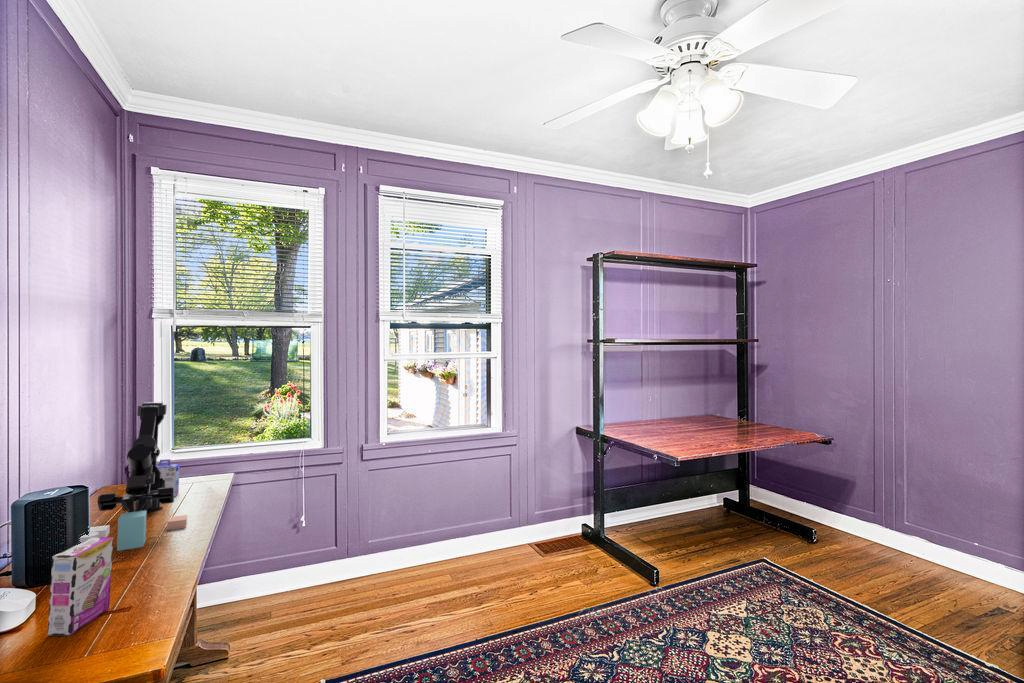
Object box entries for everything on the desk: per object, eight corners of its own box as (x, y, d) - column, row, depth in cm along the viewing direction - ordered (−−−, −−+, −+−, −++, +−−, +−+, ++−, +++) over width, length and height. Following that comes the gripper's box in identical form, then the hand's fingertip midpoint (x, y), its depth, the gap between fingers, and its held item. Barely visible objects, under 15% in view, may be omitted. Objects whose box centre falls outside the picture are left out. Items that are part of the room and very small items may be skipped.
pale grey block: (88, 540, 151) (89, 527, 151) (109, 537, 154) (109, 525, 154) (83, 546, 147) (84, 532, 147) (105, 543, 149) (105, 530, 149)
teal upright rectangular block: (120, 543, 146) (121, 513, 146) (145, 540, 149) (146, 510, 149) (116, 550, 140) (118, 519, 141) (142, 547, 144) (144, 516, 144)
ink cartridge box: (179, 493, 201) (180, 458, 201) (175, 497, 196) (177, 460, 196) (150, 495, 197) (151, 459, 198) (145, 499, 192) (147, 462, 192)
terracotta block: (168, 529, 162) (169, 517, 162) (187, 527, 164) (187, 515, 164) (167, 534, 157) (167, 521, 157) (185, 531, 160) (186, 519, 160)
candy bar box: (72, 636, 101) (75, 556, 102) (46, 637, 101) (49, 556, 101) (111, 608, 112) (114, 536, 113) (88, 608, 112) (91, 536, 112)
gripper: (99, 467, 148) (90, 515, 138) (174, 461, 157) (170, 505, 148) (104, 487, 154) (95, 534, 144) (175, 480, 164) (171, 523, 154)
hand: (134, 523), depth 148 cm, fingers closed, pressing on teal upright rectangular block
